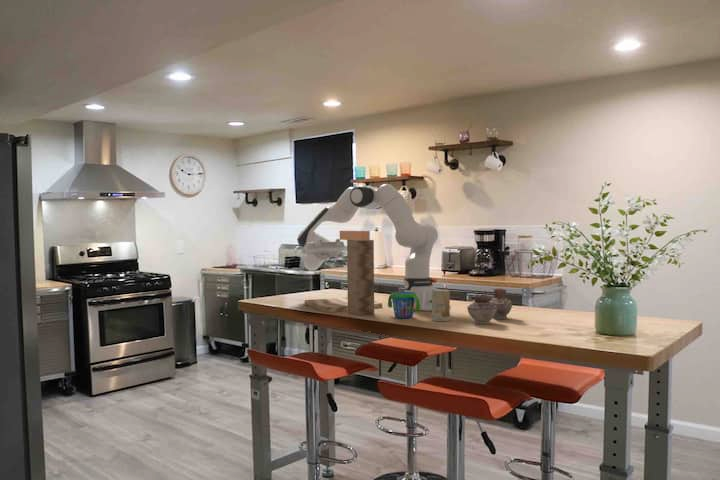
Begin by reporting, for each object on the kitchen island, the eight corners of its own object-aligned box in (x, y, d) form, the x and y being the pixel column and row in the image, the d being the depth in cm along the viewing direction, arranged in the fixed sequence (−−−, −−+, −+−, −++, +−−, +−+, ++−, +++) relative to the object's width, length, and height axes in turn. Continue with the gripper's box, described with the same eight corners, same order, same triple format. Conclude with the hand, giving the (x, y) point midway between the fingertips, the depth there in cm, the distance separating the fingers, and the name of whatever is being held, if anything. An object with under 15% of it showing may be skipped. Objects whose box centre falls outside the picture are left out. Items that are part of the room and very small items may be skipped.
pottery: (518, 318, 227) (518, 289, 227) (488, 327, 209) (488, 295, 208) (493, 315, 235) (492, 287, 235) (461, 323, 216) (461, 293, 216)
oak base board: (356, 300, 284) (356, 296, 284) (382, 307, 259) (382, 303, 259) (304, 304, 272) (304, 300, 272) (326, 312, 247) (326, 307, 247)
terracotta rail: (347, 239, 254) (347, 230, 254) (369, 240, 234) (369, 230, 234) (339, 239, 252) (339, 230, 252) (361, 240, 233) (361, 231, 232)
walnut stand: (363, 310, 250) (363, 239, 249) (374, 314, 241) (373, 240, 240) (347, 312, 246) (347, 239, 245) (357, 315, 237) (356, 240, 236)
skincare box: (435, 321, 220) (435, 290, 220) (431, 320, 225) (431, 289, 224) (450, 320, 222) (450, 290, 222) (445, 319, 226) (445, 289, 226)
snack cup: (381, 316, 235) (381, 292, 234) (399, 313, 241) (399, 290, 241) (407, 321, 223) (407, 295, 222) (426, 318, 229) (425, 293, 229)
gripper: (299, 247, 275) (308, 235, 264) (336, 246, 284) (347, 234, 273) (301, 259, 272) (310, 247, 261) (339, 257, 282) (349, 245, 271)
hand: (329, 240), depth 267 cm, fingers open, 8 cm apart
